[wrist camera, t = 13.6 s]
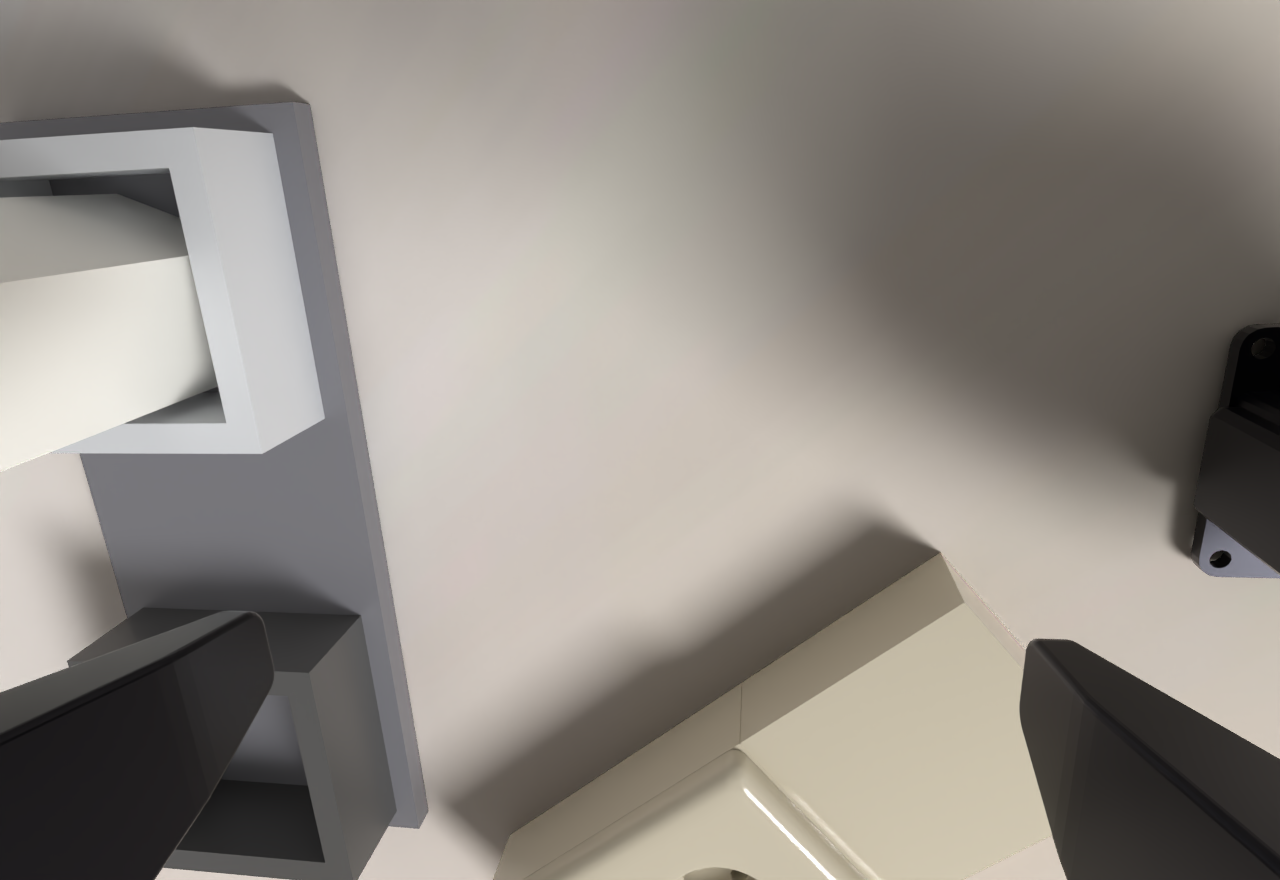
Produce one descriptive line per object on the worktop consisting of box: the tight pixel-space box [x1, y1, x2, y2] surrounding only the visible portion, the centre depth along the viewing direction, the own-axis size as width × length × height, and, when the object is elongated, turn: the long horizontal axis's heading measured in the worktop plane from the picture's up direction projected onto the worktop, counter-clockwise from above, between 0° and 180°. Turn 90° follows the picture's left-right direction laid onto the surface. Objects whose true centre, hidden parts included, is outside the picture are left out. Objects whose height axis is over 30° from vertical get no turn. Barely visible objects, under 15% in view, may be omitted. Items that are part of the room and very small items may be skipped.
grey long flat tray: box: [0, 102, 428, 880], centre depth 23 cm, size 9×23×4 cm, turn 3°
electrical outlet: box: [493, 552, 1052, 880], centre depth 24 cm, size 7×4×18 cm
